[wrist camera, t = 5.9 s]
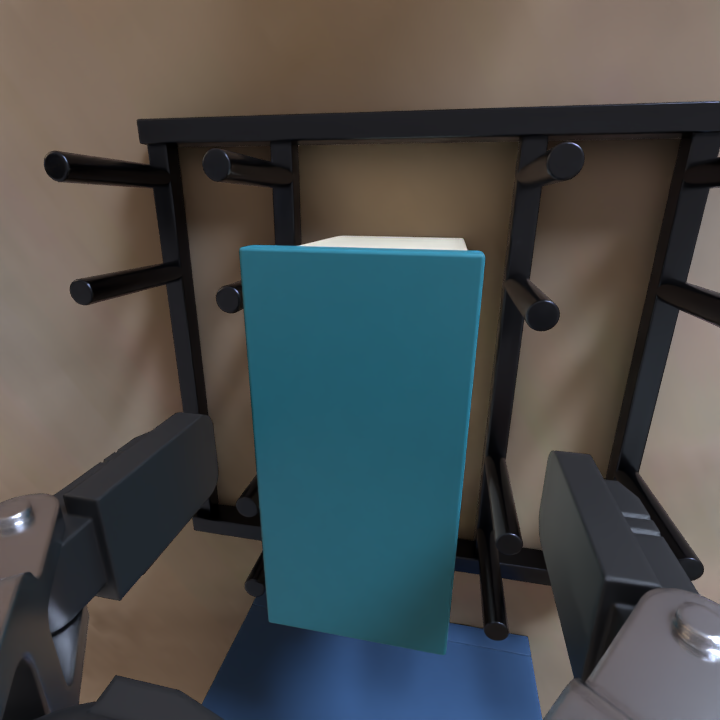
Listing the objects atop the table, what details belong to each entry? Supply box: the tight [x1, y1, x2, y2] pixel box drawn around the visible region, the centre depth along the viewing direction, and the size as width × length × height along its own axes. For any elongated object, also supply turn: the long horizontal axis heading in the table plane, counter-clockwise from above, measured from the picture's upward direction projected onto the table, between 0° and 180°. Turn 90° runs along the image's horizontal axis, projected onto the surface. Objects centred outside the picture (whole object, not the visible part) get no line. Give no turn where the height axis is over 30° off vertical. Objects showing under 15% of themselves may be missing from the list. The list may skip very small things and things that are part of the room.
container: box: [239, 236, 485, 655], centre depth 14 cm, size 5×10×8 cm, turn 179°
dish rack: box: [44, 101, 720, 641], centre depth 15 cm, size 19×18×6 cm
